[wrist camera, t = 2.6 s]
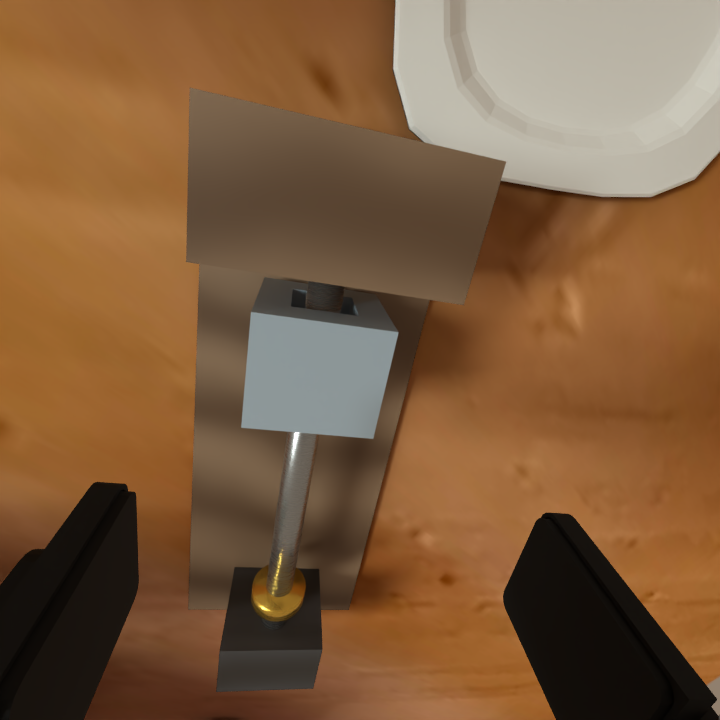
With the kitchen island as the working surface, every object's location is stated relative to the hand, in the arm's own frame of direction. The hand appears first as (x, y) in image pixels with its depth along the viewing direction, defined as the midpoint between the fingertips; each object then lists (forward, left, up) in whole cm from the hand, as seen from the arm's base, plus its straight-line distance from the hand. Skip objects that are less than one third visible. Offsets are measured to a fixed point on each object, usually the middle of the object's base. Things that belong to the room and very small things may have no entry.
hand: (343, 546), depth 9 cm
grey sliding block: (0, 0, -13) cm, 13 cm away
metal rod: (+8, 0, -12) cm, 15 cm away
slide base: (+7, 0, -15) cm, 16 cm away
